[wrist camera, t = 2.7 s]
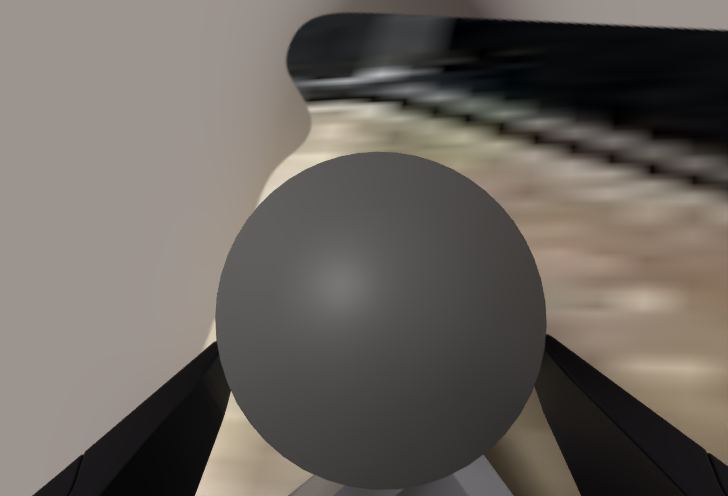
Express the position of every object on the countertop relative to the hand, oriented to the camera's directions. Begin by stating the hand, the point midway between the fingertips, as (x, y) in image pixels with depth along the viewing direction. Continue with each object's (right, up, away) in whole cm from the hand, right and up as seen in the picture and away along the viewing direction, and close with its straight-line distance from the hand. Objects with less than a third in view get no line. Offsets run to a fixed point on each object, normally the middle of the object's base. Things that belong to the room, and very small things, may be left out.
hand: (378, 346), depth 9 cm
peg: (0, -1, +9) cm, 9 cm away
